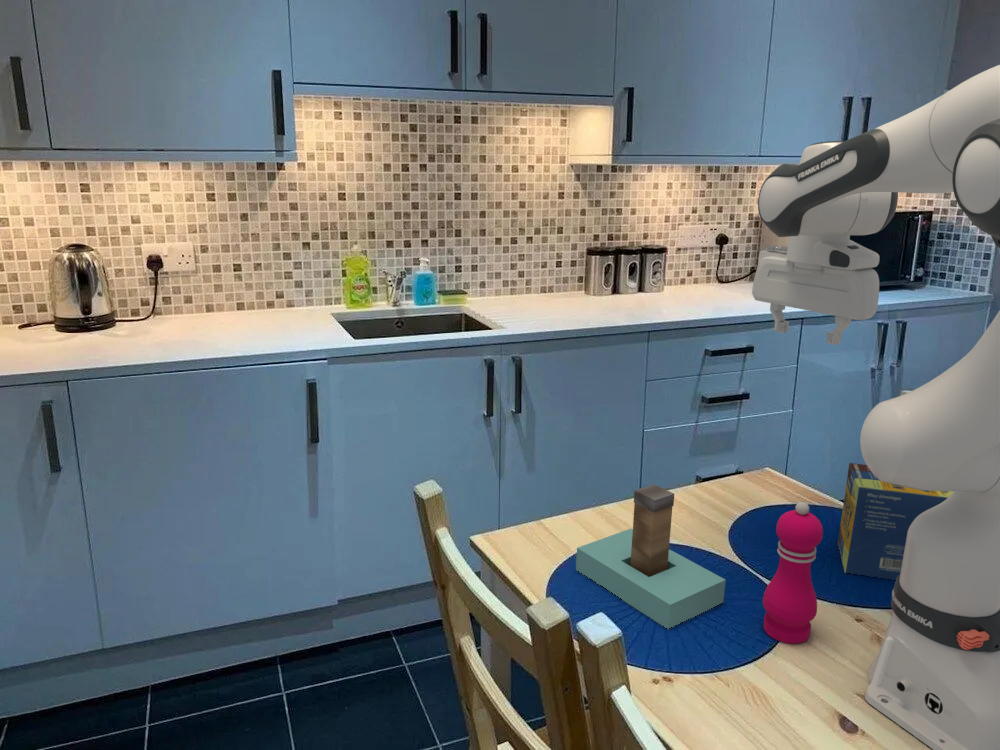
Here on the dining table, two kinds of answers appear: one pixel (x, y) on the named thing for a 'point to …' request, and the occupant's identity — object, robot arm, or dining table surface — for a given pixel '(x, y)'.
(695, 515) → the dining table surface
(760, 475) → the dining table surface
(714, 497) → the dining table surface
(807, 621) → the pepper mill
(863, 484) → the protein box
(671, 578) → the post foot
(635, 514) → the peg
